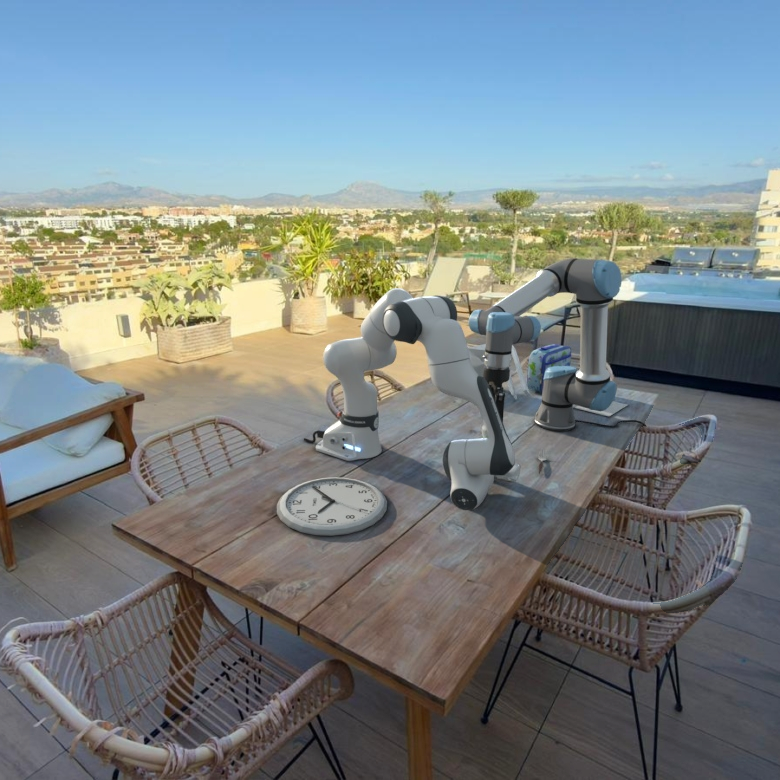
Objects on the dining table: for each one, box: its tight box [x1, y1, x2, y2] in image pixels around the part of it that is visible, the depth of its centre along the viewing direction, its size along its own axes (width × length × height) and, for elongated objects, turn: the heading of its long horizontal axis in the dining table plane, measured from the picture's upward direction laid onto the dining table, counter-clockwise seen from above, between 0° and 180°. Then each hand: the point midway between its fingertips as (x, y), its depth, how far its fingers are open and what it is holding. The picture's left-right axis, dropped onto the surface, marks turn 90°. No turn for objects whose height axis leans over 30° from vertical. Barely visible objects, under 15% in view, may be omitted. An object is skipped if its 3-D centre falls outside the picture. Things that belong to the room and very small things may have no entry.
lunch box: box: [526, 343, 572, 394], centre depth 247 cm, size 26×11×21 cm, turn 134°
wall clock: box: [276, 476, 388, 537], centre depth 142 cm, size 30×2×30 cm
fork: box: [538, 449, 548, 474], centre depth 169 cm, size 3×16×2 cm, turn 160°
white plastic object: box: [467, 343, 531, 400], centre depth 245 cm, size 37×45×31 cm
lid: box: [480, 424, 488, 436], centre depth 157 cm, size 6×6×2 cm
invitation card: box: [573, 400, 629, 418], centre depth 226 cm, size 21×1×15 cm
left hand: (490, 456), depth 160 cm, fingers closed on jar, 5 cm apart
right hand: (491, 440), depth 158 cm, fingers closed on lid, 6 cm apart
